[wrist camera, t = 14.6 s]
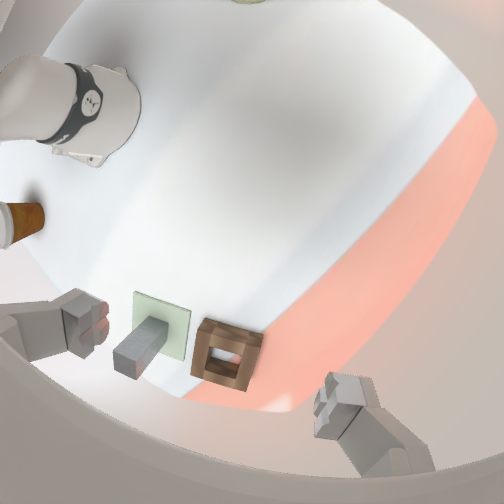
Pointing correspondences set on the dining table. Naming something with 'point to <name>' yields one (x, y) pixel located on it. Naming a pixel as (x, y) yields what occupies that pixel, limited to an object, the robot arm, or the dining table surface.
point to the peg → (140, 347)
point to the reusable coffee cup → (248, 1)
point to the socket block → (228, 341)
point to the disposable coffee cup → (19, 221)
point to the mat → (167, 313)
